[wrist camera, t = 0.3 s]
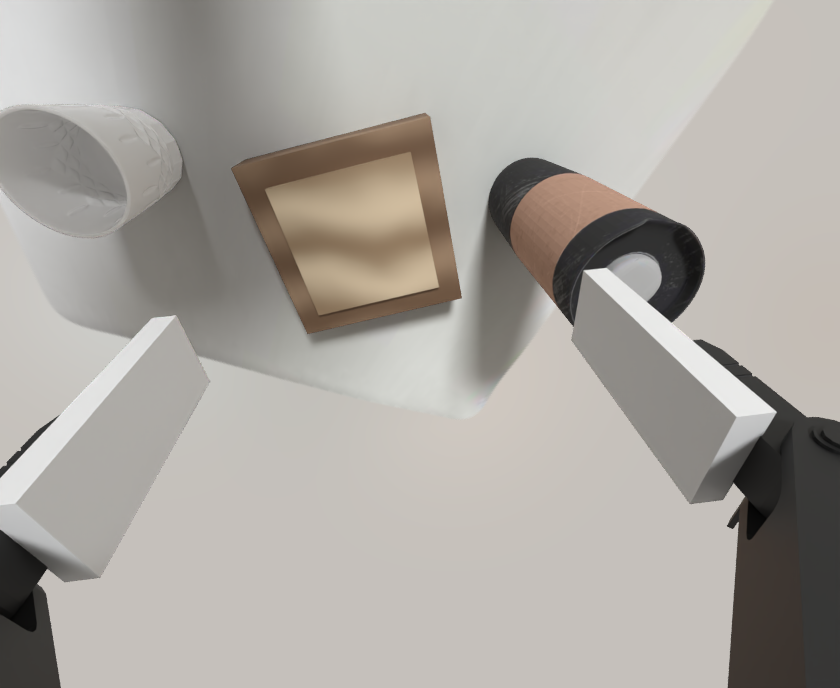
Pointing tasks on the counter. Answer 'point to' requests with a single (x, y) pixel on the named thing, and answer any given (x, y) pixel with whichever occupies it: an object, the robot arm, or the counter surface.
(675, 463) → the robot arm
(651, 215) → the travel mug
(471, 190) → the counter surface
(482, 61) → the counter surface
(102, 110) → the white cup
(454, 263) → the walnut riser
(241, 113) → the counter surface
